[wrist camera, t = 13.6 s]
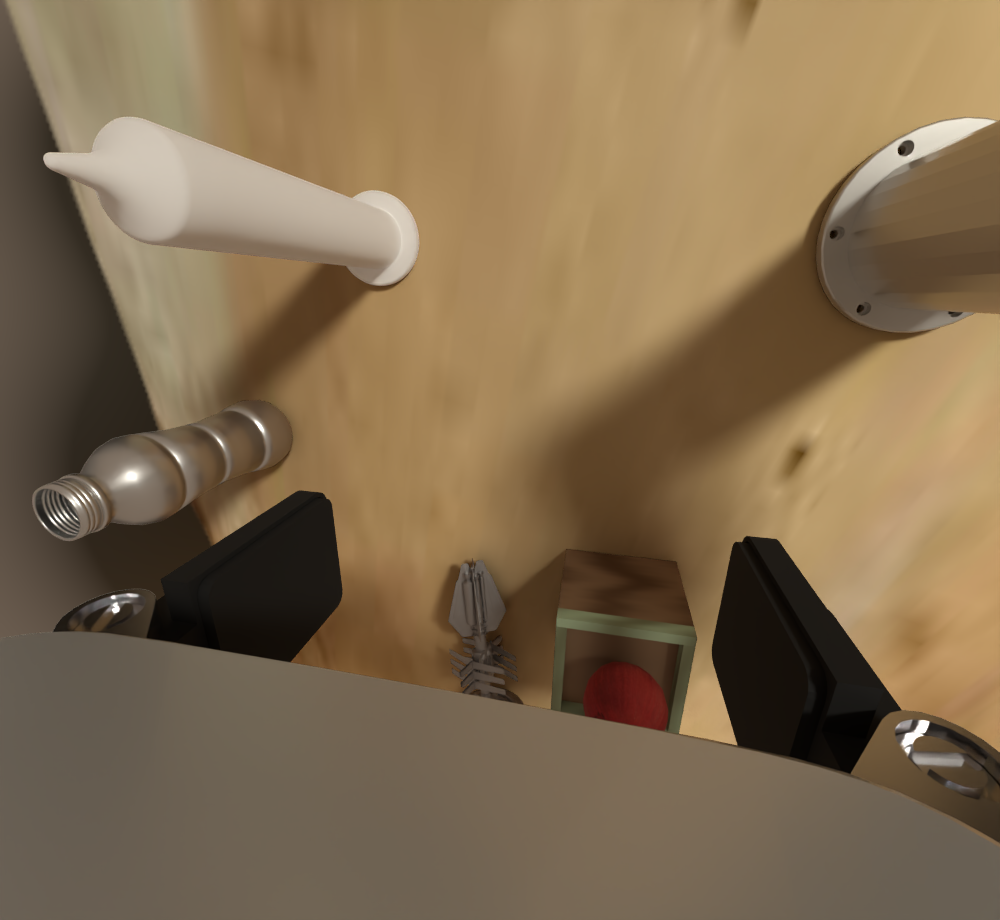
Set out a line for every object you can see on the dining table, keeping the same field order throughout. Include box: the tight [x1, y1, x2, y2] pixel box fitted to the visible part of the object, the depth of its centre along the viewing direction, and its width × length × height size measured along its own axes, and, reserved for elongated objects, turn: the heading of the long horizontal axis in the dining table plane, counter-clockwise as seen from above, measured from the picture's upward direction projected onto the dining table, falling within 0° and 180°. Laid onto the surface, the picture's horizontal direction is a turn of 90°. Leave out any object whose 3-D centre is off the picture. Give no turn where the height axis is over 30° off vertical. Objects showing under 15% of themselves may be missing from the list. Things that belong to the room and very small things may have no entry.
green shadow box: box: [551, 549, 697, 734], centre depth 41 cm, size 10×11×10 cm
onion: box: [583, 662, 668, 731], centre depth 33 cm, size 6×6×8 cm
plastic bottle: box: [32, 400, 292, 541], centre depth 37 cm, size 6×7×20 cm
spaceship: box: [448, 559, 524, 705], centre depth 48 cm, size 8×35×8 cm
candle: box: [44, 117, 419, 286], centre depth 27 cm, size 7×7×25 cm
